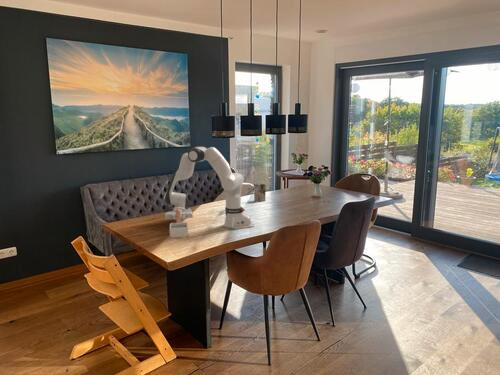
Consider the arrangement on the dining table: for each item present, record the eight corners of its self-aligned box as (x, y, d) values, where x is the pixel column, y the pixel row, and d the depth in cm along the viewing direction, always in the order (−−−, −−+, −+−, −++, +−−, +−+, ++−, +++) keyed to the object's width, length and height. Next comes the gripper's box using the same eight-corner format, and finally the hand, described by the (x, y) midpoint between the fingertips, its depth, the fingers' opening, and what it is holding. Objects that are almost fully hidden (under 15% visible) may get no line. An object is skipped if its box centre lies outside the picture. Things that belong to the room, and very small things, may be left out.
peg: (182, 227, 282) (181, 209, 279) (182, 229, 278) (181, 210, 275) (176, 228, 281) (175, 209, 278) (176, 229, 277) (175, 210, 274)
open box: (187, 231, 273) (187, 222, 272) (187, 236, 261) (187, 227, 260) (170, 232, 271) (170, 223, 270) (170, 237, 259) (169, 228, 258)
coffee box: (261, 199, 370) (261, 183, 367) (265, 200, 365) (265, 184, 362) (253, 201, 365) (253, 184, 362) (258, 202, 360) (258, 185, 357)
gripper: (164, 209, 288) (163, 214, 274) (192, 208, 291) (192, 213, 278) (165, 217, 289) (164, 222, 276) (192, 216, 292) (193, 221, 279)
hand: (178, 217), depth 277 cm, fingers closed on peg, 4 cm apart
